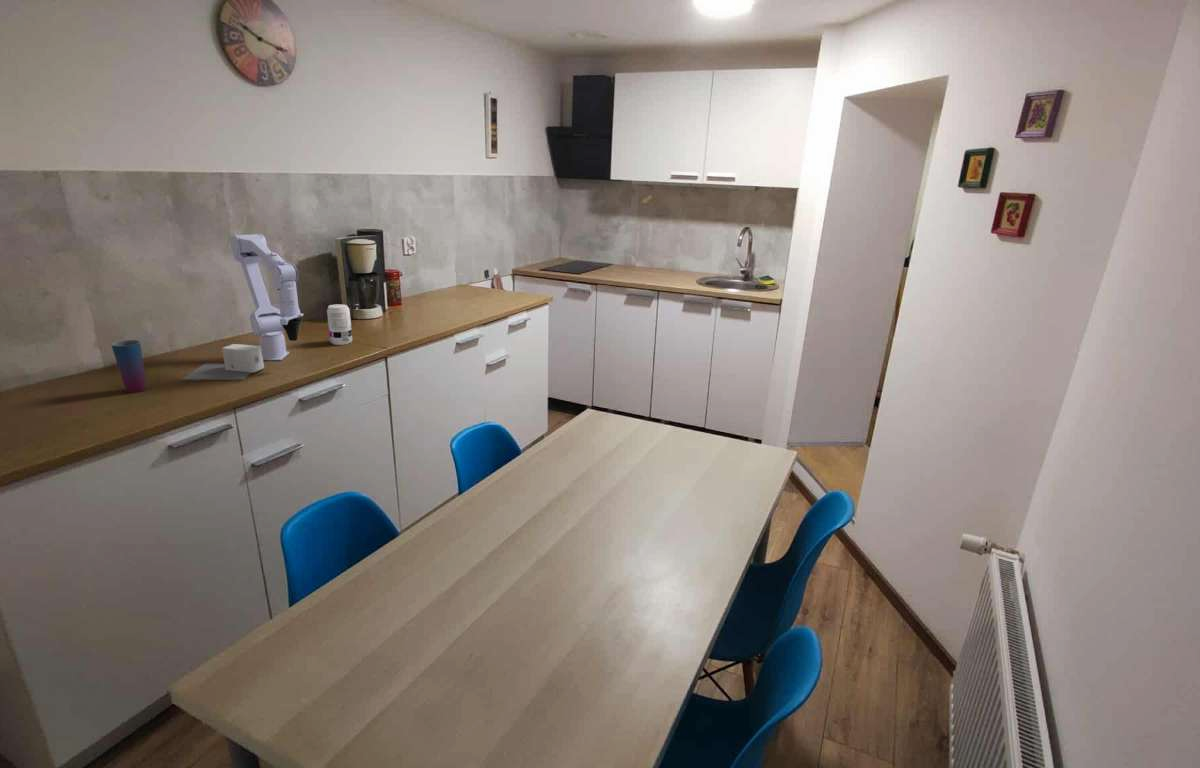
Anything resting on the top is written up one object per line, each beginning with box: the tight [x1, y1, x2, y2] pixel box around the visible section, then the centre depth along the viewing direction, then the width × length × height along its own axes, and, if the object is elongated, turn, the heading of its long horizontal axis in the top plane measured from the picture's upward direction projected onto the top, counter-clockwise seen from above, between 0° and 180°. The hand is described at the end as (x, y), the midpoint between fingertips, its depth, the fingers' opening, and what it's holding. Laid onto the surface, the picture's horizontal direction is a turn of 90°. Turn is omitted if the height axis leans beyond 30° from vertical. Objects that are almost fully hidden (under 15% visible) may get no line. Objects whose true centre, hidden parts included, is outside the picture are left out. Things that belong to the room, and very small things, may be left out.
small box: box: [221, 343, 265, 374], centre depth 199 cm, size 8×6×10 cm
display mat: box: [181, 363, 251, 382], centre depth 198 cm, size 16×18×1 cm
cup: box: [110, 339, 148, 394], centre depth 178 cm, size 7×7×15 cm
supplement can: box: [326, 303, 353, 346], centre depth 235 cm, size 8×8×15 cm
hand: (293, 340), depth 202 cm, fingers closed
